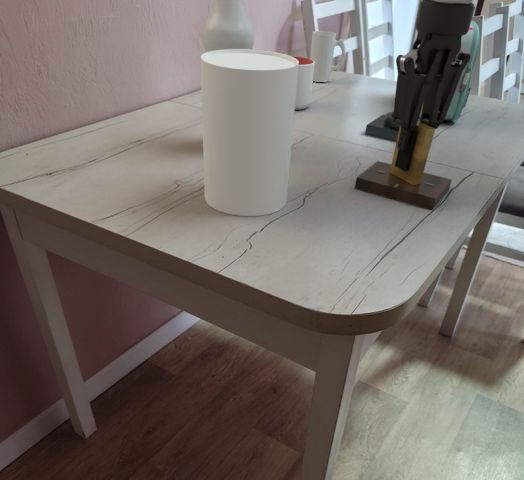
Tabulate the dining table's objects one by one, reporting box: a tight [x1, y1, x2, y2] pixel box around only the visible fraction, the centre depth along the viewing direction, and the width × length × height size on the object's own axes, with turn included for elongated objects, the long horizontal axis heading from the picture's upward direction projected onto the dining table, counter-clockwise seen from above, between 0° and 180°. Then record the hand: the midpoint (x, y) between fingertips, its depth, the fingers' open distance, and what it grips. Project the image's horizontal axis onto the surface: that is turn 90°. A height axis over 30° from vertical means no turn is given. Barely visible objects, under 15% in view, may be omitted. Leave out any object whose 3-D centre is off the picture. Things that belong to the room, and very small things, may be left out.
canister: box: [200, 49, 299, 217], centre depth 74 cm, size 14×14×20 cm
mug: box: [309, 30, 346, 83], centre depth 140 cm, size 10×7×12 cm, turn 77°
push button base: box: [364, 111, 420, 143], centre depth 108 cm, size 12×10×4 cm
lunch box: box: [416, 19, 481, 122], centre depth 118 cm, size 27×10×21 cm, turn 179°
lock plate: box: [354, 160, 453, 211], centre depth 85 cm, size 14×10×2 cm
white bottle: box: [202, 0, 255, 53], centre depth 89 cm, size 9×9×28 cm
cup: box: [290, 55, 315, 111], centre depth 120 cm, size 10×10×10 cm
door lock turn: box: [390, 119, 436, 185], centre depth 82 cm, size 6×2×9 cm, turn 29°
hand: (407, 167), depth 84 cm, fingers closed on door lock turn, 2 cm apart
